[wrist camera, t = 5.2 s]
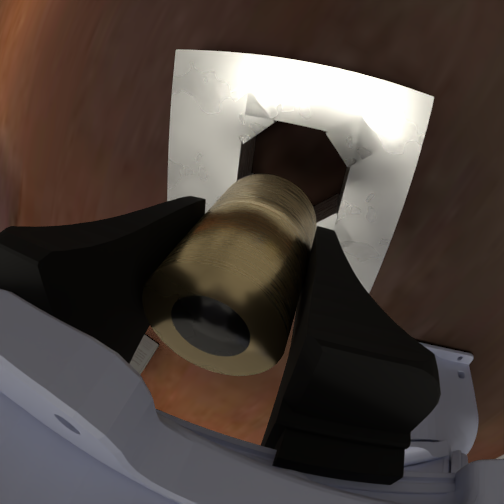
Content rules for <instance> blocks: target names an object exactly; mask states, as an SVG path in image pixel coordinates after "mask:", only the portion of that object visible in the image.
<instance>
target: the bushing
mask: <svg viewBox="0 0 504 504" xmlns="http://www.w3.org/2000/svg"><path fill="white" fill-rule="evenodd" d="M316 225H317V223H316V215H315V211H314V208H313V206H312V204H311V202H310V200H309V199H308V197H307V196H306V194H305V193H304V192H303V191H302V190H301V189H300V188H299V187H297V186H296V185H295V184H293V183H292V182H290V181H288V180H286V179H284V178H282V177H279V176H276V175H271V174H254V175H249V176H246V177H243V178H241V179H239V180H238V181H236V182H235V183H233V184H232V185H231V186H230V187H229V188H228V189H227V190H226V192H225V193H224V194H223V195H222V196H221V197H220V198H219V199H218V200H217V201H216V202H215V203H214V205H213V206H212V207H211V208H210V209H209V210H208V211H207V212H206V213H205V214H204V216H203V217H202V218H201V219H200V220H199V221H198V222H197V223H196V225H195V226H194V227H193V228H192V229H191V230H190V231H189V232H188V234H187V235H186V236H185V237H184V238H183V239H182V240H181V242H180V243H179V244H178V245H177V246H176V247H175V248H174V250H173V251H172V252H171V253H170V254H169V255H168V256H167V258H166V259H165V260H164V261H163V262H162V264H161V265H160V266H159V267H158V268H157V269H156V271H155V272H154V273H153V274H152V275H151V277H150V278H149V279H148V281H147V282H146V284H145V286H144V289H143V295H142V303H143V309H144V312H145V315H146V317H147V320H148V322H149V324H150V325H151V327H152V329H153V330H154V331H155V333H156V334H157V335H158V337H159V338H160V339H161V340H162V341H163V342H164V343H165V344H166V345H167V346H168V347H169V348H170V349H172V350H173V351H174V352H175V353H177V354H178V355H180V356H181V357H182V358H184V359H186V360H187V361H189V362H191V363H193V364H195V365H197V366H199V367H202V368H204V369H207V370H210V371H213V372H217V373H221V374H226V375H235V376H246V375H254V374H258V373H261V372H264V371H266V370H268V369H270V368H272V367H273V366H274V365H275V364H277V363H278V361H279V360H280V359H281V357H282V355H283V354H284V351H285V347H286V344H287V340H288V337H289V333H290V330H291V326H292V322H293V319H294V315H295V311H296V308H297V304H298V300H299V296H300V293H301V289H302V285H303V281H304V277H305V273H306V268H307V264H308V260H309V256H310V251H311V248H312V244H313V240H314V236H315V232H316Z"/></svg>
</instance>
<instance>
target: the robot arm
mask: <svg viewBox="0 0 504 504" xmlns="http://www.w3.org/2000/svg"><path fill="white" fill-rule="evenodd" d="M205 204H206V199H203V198H199V197H194V196H186V197H181V198H177V199H174V200H171V201H167V202H164V203H161V204H158V205H155V206H152V207H149V208H145V209H142V210H138V211H135V212H131V213H128V214H125V215H121V216H117V217H113V218H108V219H103V220H99V221H93V222H86V223H79V224H72V225H62V226H47V227H16V226H11V227H8V228H6V229H4V230H3V231H2V232H0V504H504V459H490V460H477V461H474V462H471V463H469V464H468V458H467V453H468V452H469V451H470V449H471V447H472V446H473V443H474V441H475V438H476V434H477V430H478V411H477V405H476V399H475V393H474V388H473V383H472V378H471V373H470V368H469V364H470V363H471V362H472V360H473V355H472V354H471V353H467V352H462V351H457V350H453V349H448V348H443V347H439V346H434V345H430V344H425V343H421V342H418V341H416V340H415V339H414V338H412V337H411V336H410V335H409V334H407V333H406V332H405V331H404V330H403V329H402V328H401V327H400V326H398V325H397V324H396V323H395V322H394V321H393V320H392V319H391V318H390V317H389V316H388V315H387V314H386V313H385V312H384V311H383V310H382V309H381V308H380V306H379V305H378V304H377V303H376V302H375V301H374V300H373V298H372V297H371V296H370V295H369V293H368V292H367V291H366V289H365V288H364V287H363V285H362V284H361V282H360V281H359V279H358V278H357V276H356V275H355V273H354V271H353V270H352V268H351V266H350V264H349V262H348V260H347V258H346V256H345V254H344V252H343V249H342V247H341V245H340V242H339V240H338V237H337V234H336V232H335V231H334V230H331V229H327V228H324V227H320V226H317V228H316V232H315V236H314V240H313V244H312V248H311V251H310V256H309V260H308V264H307V268H306V273H305V277H304V281H303V285H302V289H301V293H300V296H299V300H298V304H297V310H296V316H295V323H294V329H293V335H292V341H291V347H290V352H289V356H288V360H287V363H286V367H285V370H284V374H283V377H282V381H281V384H280V387H279V391H278V394H277V397H276V400H275V404H274V407H273V410H272V413H271V416H270V419H269V422H268V425H267V428H266V431H265V434H264V437H263V440H262V443H261V446H260V445H256V444H253V443H250V442H246V441H243V440H240V439H236V438H233V437H230V436H227V435H224V434H221V433H218V432H215V431H212V430H209V429H206V428H203V427H201V426H198V425H195V424H192V423H190V422H187V421H185V420H182V419H179V418H177V417H174V416H172V415H169V414H167V413H165V412H162V411H160V410H158V409H155V406H154V402H153V398H152V396H151V393H150V391H149V389H148V388H147V386H146V384H145V382H144V381H143V379H142V377H141V375H140V374H139V373H138V372H137V371H136V370H135V369H134V368H133V367H132V366H131V365H130V362H131V360H132V357H133V355H134V353H135V351H136V350H137V348H138V346H139V344H140V342H141V340H142V338H143V336H144V334H145V333H146V331H147V329H148V327H149V326H150V324H149V322H148V320H147V317H146V315H145V312H144V309H143V303H142V295H143V289H144V286H145V284H146V282H147V281H148V279H149V278H150V277H151V275H152V274H153V273H154V272H155V271H156V269H157V268H158V267H159V266H160V265H161V264H162V262H163V261H164V260H165V259H166V258H167V256H168V255H169V254H170V253H171V252H172V251H173V250H174V248H175V247H176V246H177V245H178V244H179V243H180V242H181V240H182V239H183V238H184V237H185V236H186V235H187V234H188V232H189V231H190V230H191V229H192V228H193V227H194V226H195V225H196V223H197V222H198V221H199V220H200V219H201V218H202V217H203V216H204V214H205Z"/></svg>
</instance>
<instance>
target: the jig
mask: <svg viewBox="0 0 504 504" xmlns="http://www.w3.org/2000/svg"><path fill="white" fill-rule="evenodd" d="M433 100H434V97H433V96H430V95H427V94H425V93H422V92H419V91H416V90H413V89H410V88H407V87H404V86H401V85H398V84H395V83H392V82H388V81H385V80H381V79H378V78H374V77H371V76H367V75H363V74H360V73H356V72H352V71H347V70H343V69H339V68H334V67H330V66H325V65H320V64H315V63H310V62H304V61H299V60H293V59H286V58H280V57H273V56H265V55H257V54H247V53H237V52H224V51H207V50H176V54H175V64H174V74H173V86H172V99H171V114H170V131H169V154H168V194H167V201H171V200H174V199H177V198H181V197H186V196H194V197H199V198H203V199H206V204H205V213H206V212H207V211H208V210H209V209H210V208H211V207H212V206H213V205H214V203H215V202H216V201H217V200H218V199H219V198H220V197H221V196H222V195H223V194H224V193H225V192H226V190H227V189H228V188H229V187H230V186H231V185H232V184H233V183H235V182H236V181H238V180H239V179H241V178H243V177H246V176H249V175H254V173H252V174H251V171H252V164H253V157H254V149H255V142H256V135H257V134H259V133H260V132H262V131H263V130H265V129H266V128H268V127H269V126H271V125H272V124H274V123H275V122H276V121H281V122H286V123H291V124H296V125H301V126H305V127H310V128H314V129H319V130H323V131H326V135H327V136H328V138H329V139H330V141H331V142H332V144H333V145H334V147H335V148H336V150H337V151H338V153H339V155H340V156H341V158H342V159H343V161H344V162H345V164H346V166H347V168H346V172H345V176H344V180H343V184H342V188H341V192H340V196H339V194H336V195H334V196H332V197H331V198H329V199H327V200H325V201H323V202H321V203H319V204H318V205H316V206H314V207H313V208H314V211H315V215H316V223H317V225H316V228H317V226H320V227H324V228H327V229H331V230H334V231H335V232H336V234H337V237H338V240H339V242H340V245H341V247H342V249H343V252H344V254H345V256H346V258H347V260H348V262H349V264H350V266H351V268H352V270H353V271H354V273H355V275H356V276H357V278H358V279H359V281H360V282H361V284H362V285H363V287H364V288H365V289H366V291H367V292H368V293H370V290H371V288H372V286H373V283H374V281H375V279H376V276H377V274H378V271H379V269H380V267H381V264H382V262H383V259H384V257H385V254H386V252H387V249H388V246H389V244H390V241H391V239H392V236H393V233H394V231H395V228H396V225H397V222H398V220H399V217H400V214H401V211H402V208H403V205H404V202H405V199H406V196H407V193H408V190H409V187H410V184H411V181H412V178H413V175H414V171H415V168H416V165H417V162H418V158H419V155H420V151H421V148H422V144H423V140H424V137H425V133H426V129H427V125H428V121H429V117H430V113H431V109H432V105H433Z"/></svg>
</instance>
